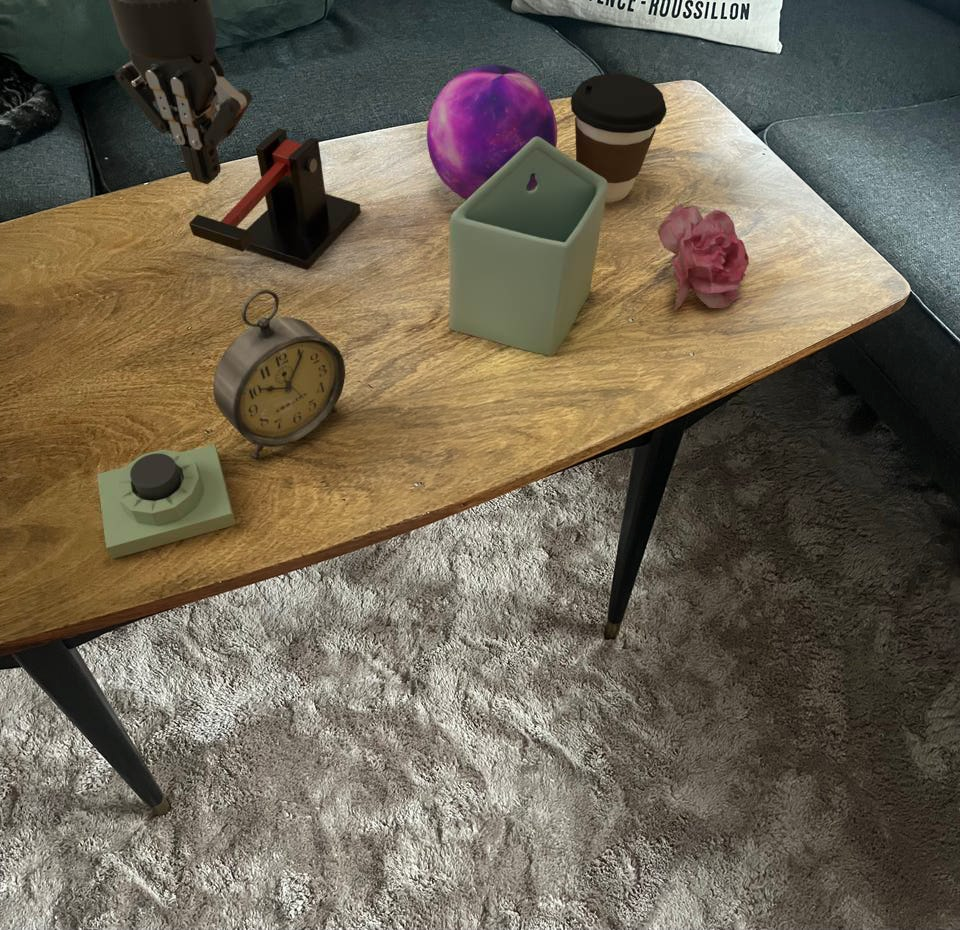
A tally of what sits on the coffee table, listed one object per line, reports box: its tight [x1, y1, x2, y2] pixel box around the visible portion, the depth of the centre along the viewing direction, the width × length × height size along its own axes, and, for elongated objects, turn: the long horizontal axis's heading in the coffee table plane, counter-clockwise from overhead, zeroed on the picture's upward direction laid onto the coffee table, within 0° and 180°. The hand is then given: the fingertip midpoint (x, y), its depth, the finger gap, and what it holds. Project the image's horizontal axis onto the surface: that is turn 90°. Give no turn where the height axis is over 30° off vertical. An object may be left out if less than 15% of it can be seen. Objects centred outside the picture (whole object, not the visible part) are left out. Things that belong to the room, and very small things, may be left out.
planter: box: [448, 137, 608, 357], centre depth 78 cm, size 16×8×20 cm, turn 113°
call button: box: [130, 453, 181, 501], centre depth 68 cm, size 4×4×2 cm
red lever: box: [188, 139, 303, 252], centre depth 86 cm, size 15×6×2 cm, turn 156°
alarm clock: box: [212, 288, 346, 460], centre depth 71 cm, size 11×5×16 cm, turn 131°
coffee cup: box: [570, 73, 668, 203], centre depth 98 cm, size 11×11×12 cm
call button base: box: [96, 443, 237, 560], centre depth 70 cm, size 10×8×4 cm
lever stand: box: [245, 127, 361, 271], centre depth 92 cm, size 12×9×11 cm
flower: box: [650, 203, 750, 312], centre depth 89 cm, size 11×10×10 cm
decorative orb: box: [426, 64, 558, 200], centre depth 96 cm, size 15×15×15 cm
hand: (206, 178), depth 77 cm, fingers closed
